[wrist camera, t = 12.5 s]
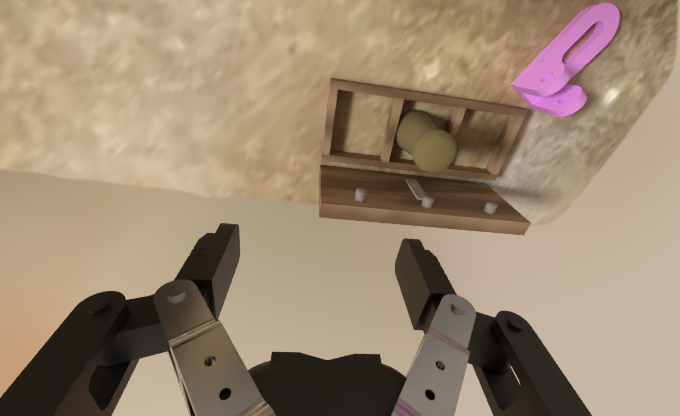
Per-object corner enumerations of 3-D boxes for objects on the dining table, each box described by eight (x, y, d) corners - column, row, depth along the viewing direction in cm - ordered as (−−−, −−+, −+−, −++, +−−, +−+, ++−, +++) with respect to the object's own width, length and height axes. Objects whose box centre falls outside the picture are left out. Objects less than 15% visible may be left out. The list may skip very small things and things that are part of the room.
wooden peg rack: (330, 78, 37) (335, 92, 27) (519, 107, 41) (586, 129, 31) (319, 176, 45) (319, 217, 34) (480, 193, 48) (523, 235, 38)
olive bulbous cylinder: (429, 103, 40) (463, 123, 30) (434, 142, 43) (467, 171, 34) (388, 117, 40) (409, 140, 31) (396, 154, 44) (418, 186, 34)
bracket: (531, 108, 41) (567, 120, 35) (509, 84, 39) (543, 92, 33) (617, 25, 36) (675, 22, 30) (597, -8, 34) (655, -18, 28)
